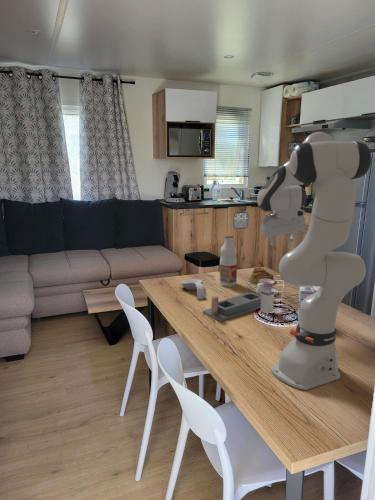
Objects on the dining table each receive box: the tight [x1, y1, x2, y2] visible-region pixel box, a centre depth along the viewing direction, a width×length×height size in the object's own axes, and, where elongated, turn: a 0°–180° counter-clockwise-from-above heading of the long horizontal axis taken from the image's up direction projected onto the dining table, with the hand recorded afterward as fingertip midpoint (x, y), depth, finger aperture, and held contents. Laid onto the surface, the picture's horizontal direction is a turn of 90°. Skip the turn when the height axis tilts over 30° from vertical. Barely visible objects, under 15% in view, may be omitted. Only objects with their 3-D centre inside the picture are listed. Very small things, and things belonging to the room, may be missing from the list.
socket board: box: [202, 283, 264, 322], centre depth 169 cm, size 33×12×9 cm, turn 126°
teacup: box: [254, 279, 279, 296], centre depth 191 cm, size 12×12×6 cm
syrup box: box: [297, 286, 315, 322], centre depth 154 cm, size 6×6×14 cm
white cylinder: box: [259, 289, 275, 313], centre depth 164 cm, size 4×4×10 cm
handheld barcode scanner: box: [180, 278, 207, 300], centre depth 192 cm, size 24×12×7 cm, turn 16°
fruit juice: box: [219, 234, 238, 288], centre depth 201 cm, size 9×9×28 cm
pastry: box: [249, 266, 275, 285], centre depth 208 cm, size 13×15×8 cm
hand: (281, 243), depth 158 cm, fingers open, 8 cm apart
